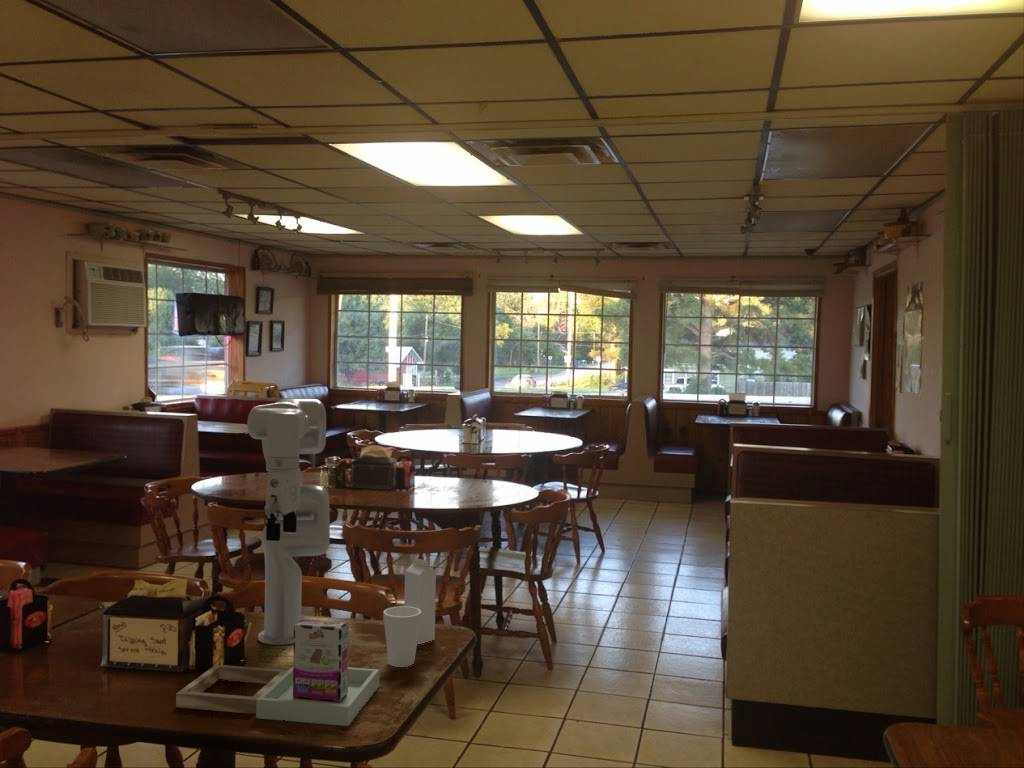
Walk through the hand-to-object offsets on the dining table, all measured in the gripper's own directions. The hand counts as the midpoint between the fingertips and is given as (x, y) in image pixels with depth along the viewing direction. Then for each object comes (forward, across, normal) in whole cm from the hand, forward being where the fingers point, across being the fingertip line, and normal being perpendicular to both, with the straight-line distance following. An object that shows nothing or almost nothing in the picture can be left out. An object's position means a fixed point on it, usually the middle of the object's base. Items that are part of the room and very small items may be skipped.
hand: (281, 536), depth 208 cm
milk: (+34, +32, -26) cm, 53 cm away
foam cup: (+34, +14, -26) cm, 45 cm away
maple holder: (+33, -13, +5) cm, 36 cm away
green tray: (+33, -13, -15) cm, 39 cm away
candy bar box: (+32, -13, -15) cm, 38 cm away
